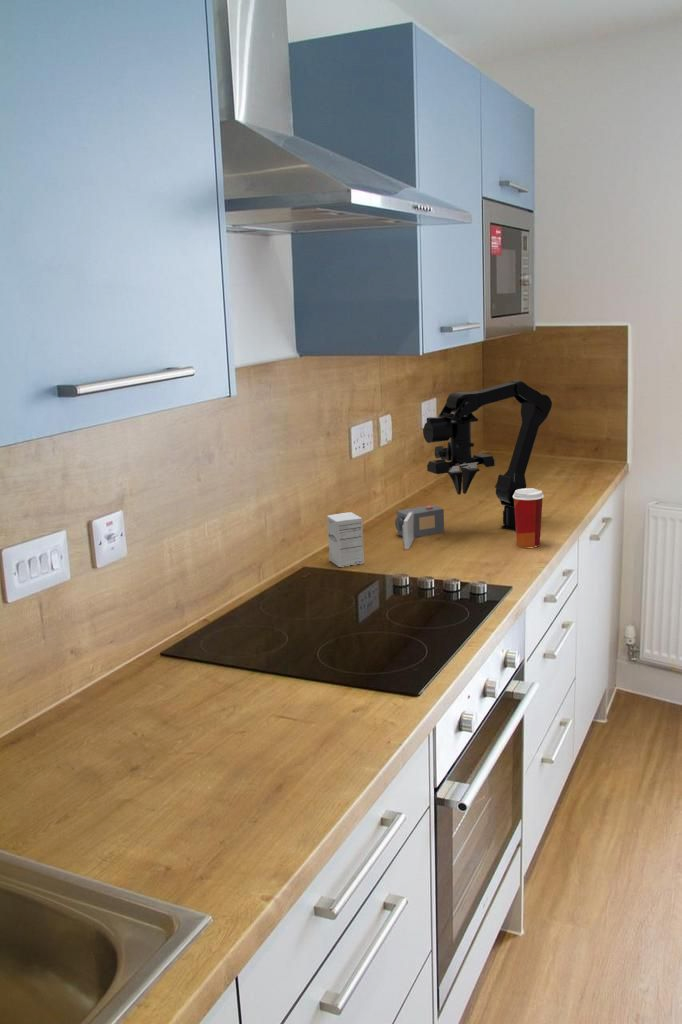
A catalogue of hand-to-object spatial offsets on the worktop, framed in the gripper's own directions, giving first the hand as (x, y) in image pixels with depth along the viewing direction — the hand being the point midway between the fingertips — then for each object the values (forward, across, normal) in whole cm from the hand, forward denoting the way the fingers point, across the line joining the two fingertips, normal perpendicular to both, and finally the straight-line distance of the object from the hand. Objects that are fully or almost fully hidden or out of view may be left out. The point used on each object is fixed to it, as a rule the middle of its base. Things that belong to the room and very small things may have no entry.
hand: (461, 493), depth 248 cm
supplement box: (+13, +38, +4) cm, 40 cm away
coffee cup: (+13, -10, +17) cm, 23 cm away
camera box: (+12, +9, -10) cm, 18 cm away
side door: (+12, +16, -2) cm, 20 cm away
